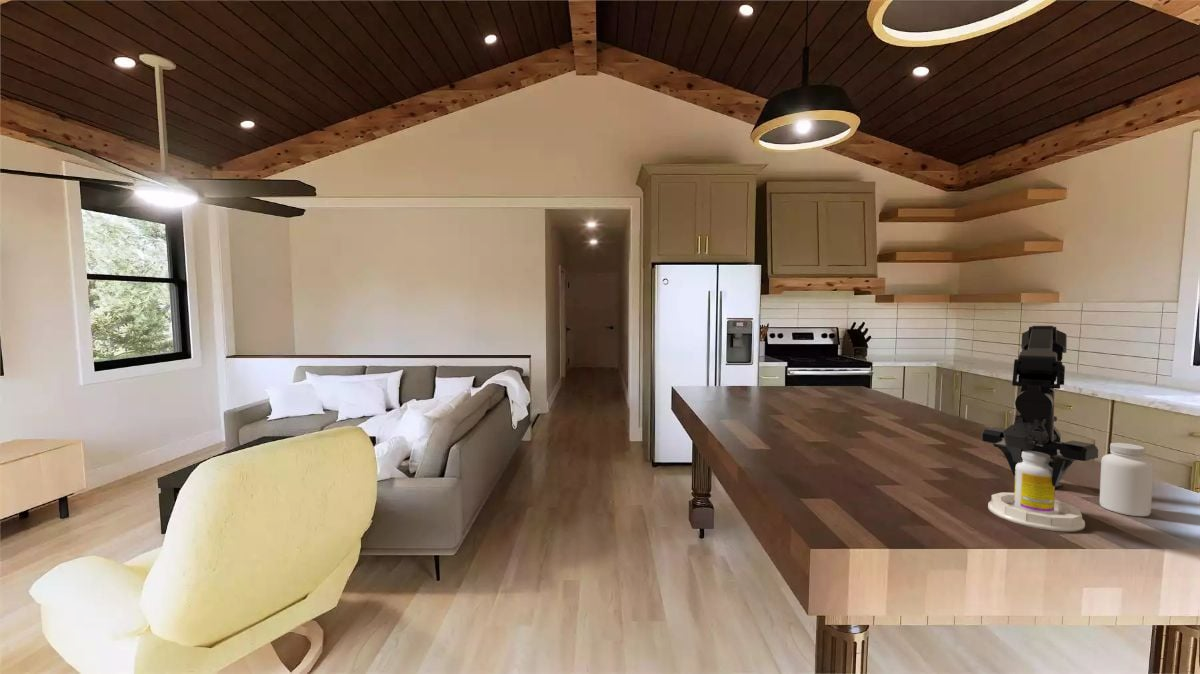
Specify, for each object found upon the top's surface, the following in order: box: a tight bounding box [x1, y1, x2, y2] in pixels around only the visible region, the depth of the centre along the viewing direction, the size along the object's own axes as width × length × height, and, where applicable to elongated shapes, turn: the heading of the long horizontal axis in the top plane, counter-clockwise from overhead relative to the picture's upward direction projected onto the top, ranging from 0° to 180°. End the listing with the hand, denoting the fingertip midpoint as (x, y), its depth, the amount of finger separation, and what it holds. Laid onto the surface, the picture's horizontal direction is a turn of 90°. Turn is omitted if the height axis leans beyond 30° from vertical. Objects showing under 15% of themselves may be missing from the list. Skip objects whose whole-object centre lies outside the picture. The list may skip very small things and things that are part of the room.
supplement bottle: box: [1013, 451, 1056, 515], centre depth 107 cm, size 7×7×13 cm
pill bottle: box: [1099, 442, 1154, 517], centre depth 109 cm, size 8×8×15 cm
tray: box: [987, 491, 1086, 533], centre depth 107 cm, size 16×16×3 cm
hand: (1034, 480), depth 107 cm, fingers closed on supplement bottle, 7 cm apart
